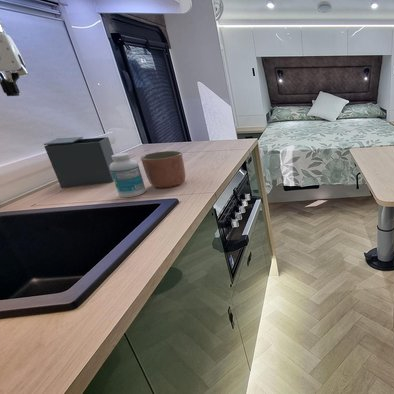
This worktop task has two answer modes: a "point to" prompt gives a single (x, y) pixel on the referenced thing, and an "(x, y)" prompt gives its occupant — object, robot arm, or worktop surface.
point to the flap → (63, 140)
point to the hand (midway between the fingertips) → (13, 95)
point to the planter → (164, 168)
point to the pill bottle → (126, 175)
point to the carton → (82, 162)
